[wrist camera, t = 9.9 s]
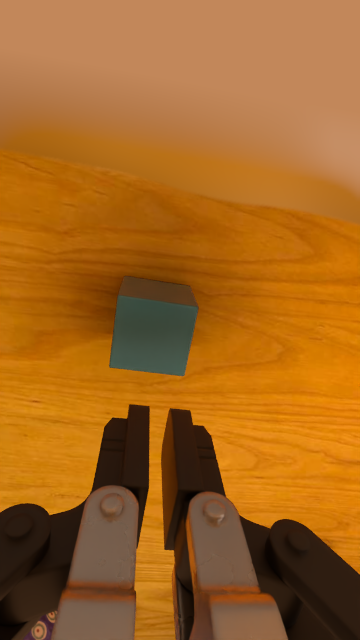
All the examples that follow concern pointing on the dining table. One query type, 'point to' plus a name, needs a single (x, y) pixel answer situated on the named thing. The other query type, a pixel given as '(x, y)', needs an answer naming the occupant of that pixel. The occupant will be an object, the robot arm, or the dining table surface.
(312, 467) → the dining table surface
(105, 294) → the dining table surface
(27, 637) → the teapot
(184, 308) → the block
